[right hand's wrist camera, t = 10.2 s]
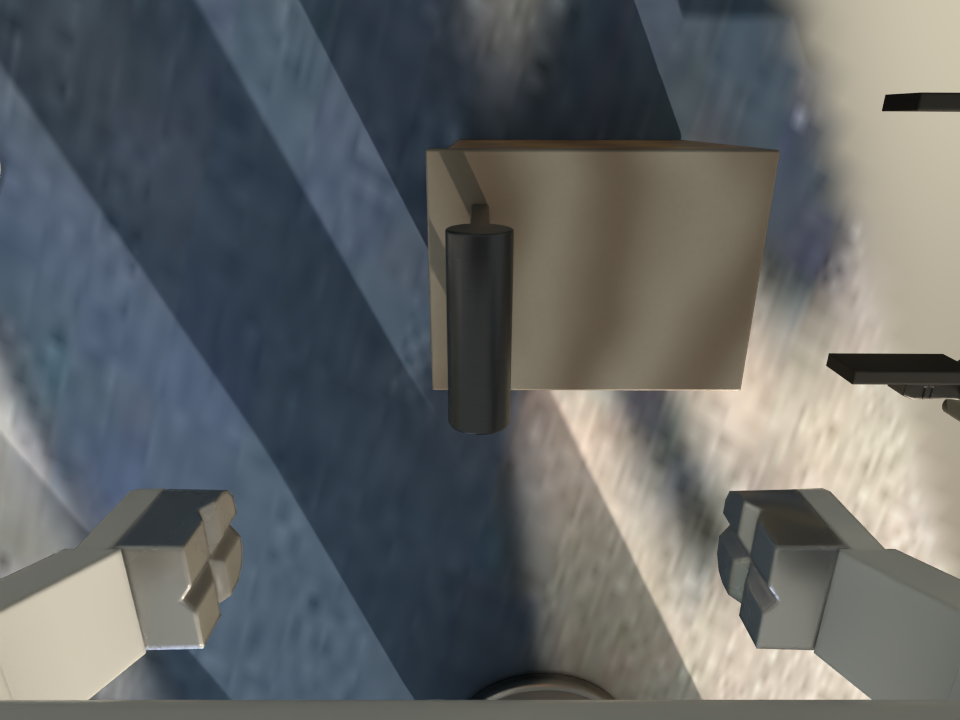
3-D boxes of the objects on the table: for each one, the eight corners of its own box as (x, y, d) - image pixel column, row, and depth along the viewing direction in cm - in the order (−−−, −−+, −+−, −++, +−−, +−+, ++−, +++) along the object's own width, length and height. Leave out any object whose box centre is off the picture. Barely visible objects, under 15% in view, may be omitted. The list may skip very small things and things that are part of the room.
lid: (434, 379, 29) (413, 487, 21) (427, 147, 26) (400, 162, 17) (730, 380, 29) (834, 488, 21) (766, 148, 26) (911, 163, 17)
